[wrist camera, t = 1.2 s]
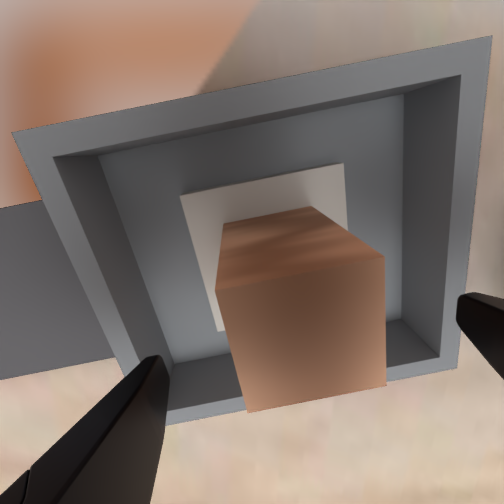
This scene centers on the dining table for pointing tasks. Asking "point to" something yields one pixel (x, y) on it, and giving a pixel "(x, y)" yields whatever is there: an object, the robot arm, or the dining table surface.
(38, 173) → the crate
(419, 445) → the dining table surface
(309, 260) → the block
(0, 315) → the mat
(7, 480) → the dining table surface
